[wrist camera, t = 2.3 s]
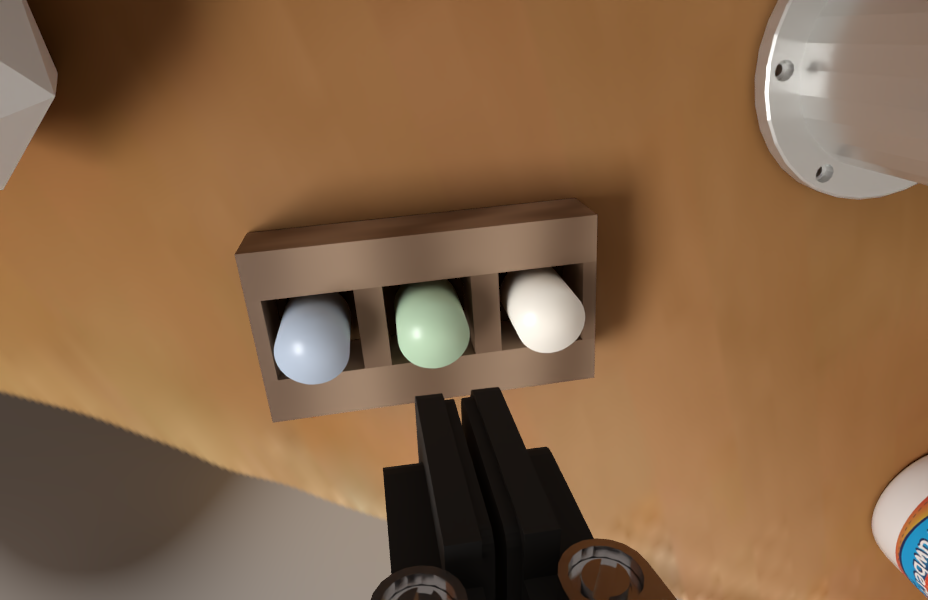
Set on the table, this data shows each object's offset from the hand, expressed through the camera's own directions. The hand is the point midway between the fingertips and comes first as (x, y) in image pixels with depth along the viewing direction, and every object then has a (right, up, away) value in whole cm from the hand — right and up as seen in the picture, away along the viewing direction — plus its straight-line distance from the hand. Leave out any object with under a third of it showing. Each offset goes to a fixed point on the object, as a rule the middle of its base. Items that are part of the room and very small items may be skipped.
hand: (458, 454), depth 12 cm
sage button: (-2, +3, +17) cm, 17 cm away
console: (-2, +3, +18) cm, 18 cm away
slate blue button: (-7, +3, +17) cm, 19 cm away
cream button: (+3, +4, +17) cm, 18 cm away
